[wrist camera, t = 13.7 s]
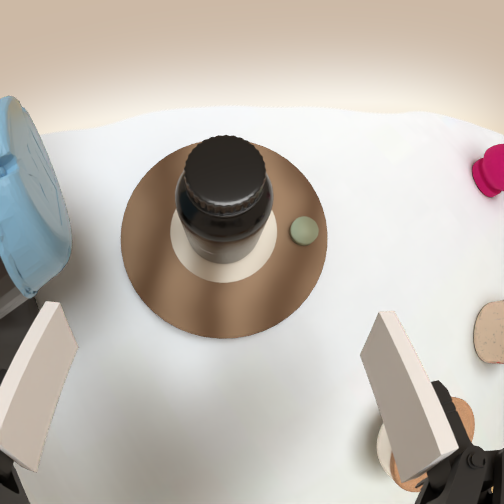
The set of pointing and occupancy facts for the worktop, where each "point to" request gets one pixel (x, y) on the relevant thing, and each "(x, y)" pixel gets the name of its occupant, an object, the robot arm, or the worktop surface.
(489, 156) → the pepper mill
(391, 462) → the lidded jar
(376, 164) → the worktop surface
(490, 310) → the teacup with lid
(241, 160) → the supplement bottle
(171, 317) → the stand
